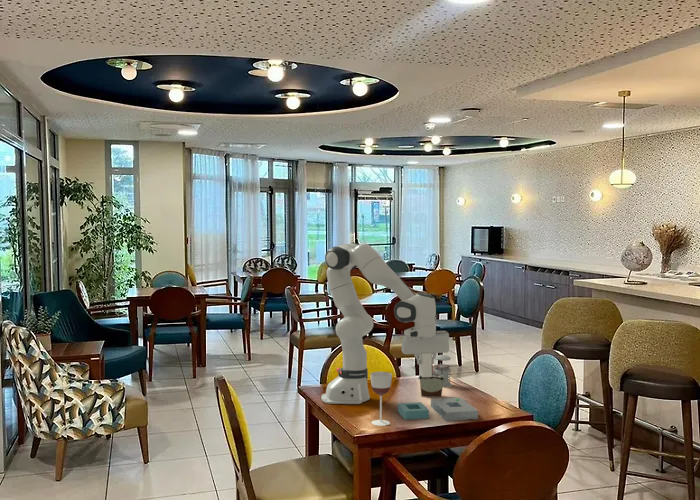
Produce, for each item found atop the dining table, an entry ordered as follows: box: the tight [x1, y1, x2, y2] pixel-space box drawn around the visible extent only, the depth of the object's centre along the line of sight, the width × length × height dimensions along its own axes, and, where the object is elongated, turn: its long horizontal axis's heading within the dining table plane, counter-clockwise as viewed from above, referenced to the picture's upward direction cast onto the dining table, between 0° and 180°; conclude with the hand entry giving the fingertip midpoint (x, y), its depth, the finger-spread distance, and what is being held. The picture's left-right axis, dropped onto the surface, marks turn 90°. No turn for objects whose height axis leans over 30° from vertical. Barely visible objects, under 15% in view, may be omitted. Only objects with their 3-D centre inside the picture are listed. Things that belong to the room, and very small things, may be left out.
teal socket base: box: [397, 402, 430, 420], centre depth 263 cm, size 10×11×4 cm
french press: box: [434, 353, 453, 389], centre depth 311 cm, size 10×12×25 cm
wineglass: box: [370, 371, 393, 427], centre depth 252 cm, size 8×9×20 cm
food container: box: [418, 372, 445, 398], centre depth 294 cm, size 12×6×10 cm, turn 84°
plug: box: [418, 353, 433, 377], centre depth 263 cm, size 4×5×10 cm
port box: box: [430, 397, 479, 422], centre depth 266 cm, size 14×20×4 cm
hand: (425, 363), depth 263 cm, fingers closed on plug, 4 cm apart
